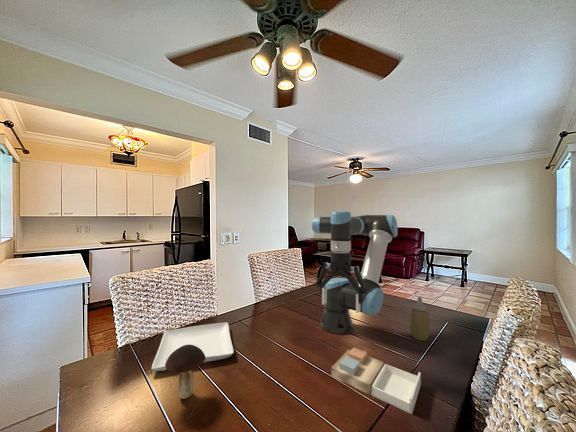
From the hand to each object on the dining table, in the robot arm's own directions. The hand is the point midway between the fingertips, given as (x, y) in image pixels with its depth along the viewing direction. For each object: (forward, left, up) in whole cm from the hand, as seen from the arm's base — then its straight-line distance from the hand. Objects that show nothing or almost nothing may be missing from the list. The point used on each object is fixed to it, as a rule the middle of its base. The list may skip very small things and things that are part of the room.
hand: (340, 307), depth 89 cm
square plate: (-49, -31, -20) cm, 61 cm away
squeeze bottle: (+21, +35, -19) cm, 46 cm away
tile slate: (+7, -8, -16) cm, 19 cm away
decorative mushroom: (-28, -46, -19) cm, 57 cm away
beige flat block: (+9, -5, -19) cm, 21 cm away
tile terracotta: (+7, -1, -16) cm, 18 cm away
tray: (+21, -5, -19) cm, 29 cm away
